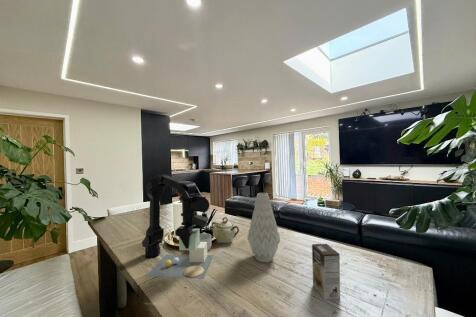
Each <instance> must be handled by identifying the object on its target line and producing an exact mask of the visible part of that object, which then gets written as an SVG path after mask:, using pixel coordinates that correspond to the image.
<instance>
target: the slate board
mask: <svg viewBox="0 0 476 317" xmlns="http://www.w3.org/2000/svg"><path fill="white" fill-rule="evenodd" d="M214 256H215V254H207V257H206V259H205V261H204V262H190V255H189V254H174V253H173V254H172V253H171V254H164V256H162V258H161V259H160V260H159V261H158V262H157V263H156V264H155V265H154V267H152V269H150V271H149V272H148V273H147V274H146V275H145V276H144V278H165V279H166V278H167V279H168V278H171V279H199V280H200V279H203V280H204V279H205V278H206V275H207V273H208V270H209V268H210V265H211V263H212V261H213V260H214ZM175 257H177V258H179V262H178V264H173V259H174V258H175ZM167 260H171V262H172V264H171V266H170V267H166V266H165V262H166V261H167ZM190 266H201V267H203V268H204V272H203V273H202V274H201V275H199V276H197V277H186V276H184V274H183V271H184V270H185V269H186V268H188V267H190Z"/></svg>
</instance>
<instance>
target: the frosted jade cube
mask: <svg viewBox="0 0 476 317" xmlns="http://www.w3.org/2000/svg"><path fill="white" fill-rule="evenodd" d="M200 229H201V228H199V227H198V228H197V229H192V235H191V236H190V241H189V248H188V249H186V248H185V246H184V244H183V242H182V240H181V239H180V237H179V236H178V245H179V246H178V247H179V251H189V250H196V249H197V247H198V246H199V244H200V234H201V233H200V231H201V230H200Z"/></svg>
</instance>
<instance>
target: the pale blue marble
mask: <svg viewBox="0 0 476 317" xmlns="http://www.w3.org/2000/svg"><path fill="white" fill-rule="evenodd" d="M178 262H179V258H177V257H175V258H174V259H173V264H178Z"/></svg>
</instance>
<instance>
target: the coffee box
mask: <svg viewBox="0 0 476 317" xmlns="http://www.w3.org/2000/svg"><path fill="white" fill-rule="evenodd" d="M311 252H312V253H311V254H312V256H311V258H312V286H313V287H314V288H315V289H316V290H317V292H318V293H319V294H320V297H322V299H323V300H338V299H339V300H340V299H341V270H340V269H341V265H340V264H341V263H340V262H341V261H340V259H341V258H340V253H339V252H338V251H337V250H336V249H334V248H333V247H332V246H330V245H329V244H328V243H313V244H311Z"/></svg>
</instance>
